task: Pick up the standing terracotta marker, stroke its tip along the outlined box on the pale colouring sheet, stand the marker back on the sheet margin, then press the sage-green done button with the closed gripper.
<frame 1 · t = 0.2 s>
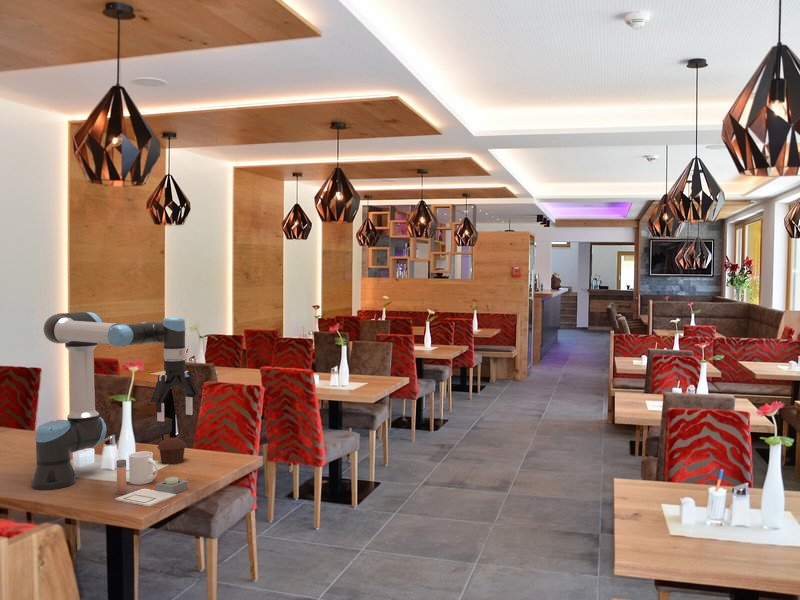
hand: (175, 417, 258), 27 cm above the table, fingers open, 13 cm apart
button: (171, 482, 260), point 3 cm above the table, slide at 0.0 cm
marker: (121, 493, 257), on the table
button housing: (171, 490, 260), on the table
mug: (144, 482, 271), on the table
muffin: (172, 462, 300), on the table
sheet: (146, 497, 252), on the table
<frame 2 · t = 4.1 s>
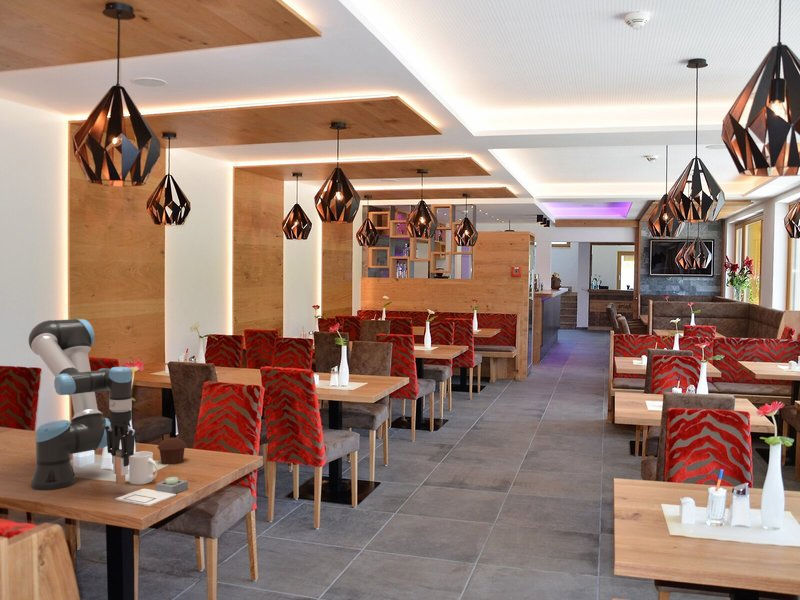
hand: (120, 473, 257), 7 cm above the table, fingers closed on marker, 3 cm apart
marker: (120, 482, 257), point 4 cm above the table, touching gripper
everything else where it was.
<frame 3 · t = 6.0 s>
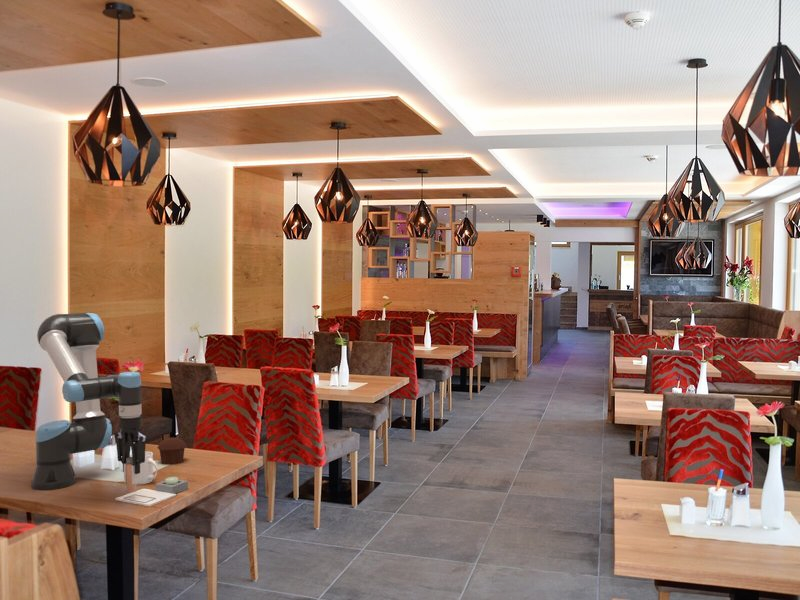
hand: (131, 481, 250), 6 cm above the table, fingers closed on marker, 3 cm apart
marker: (131, 491, 250), point 3 cm above the table, touching gripper
everything else where it was.
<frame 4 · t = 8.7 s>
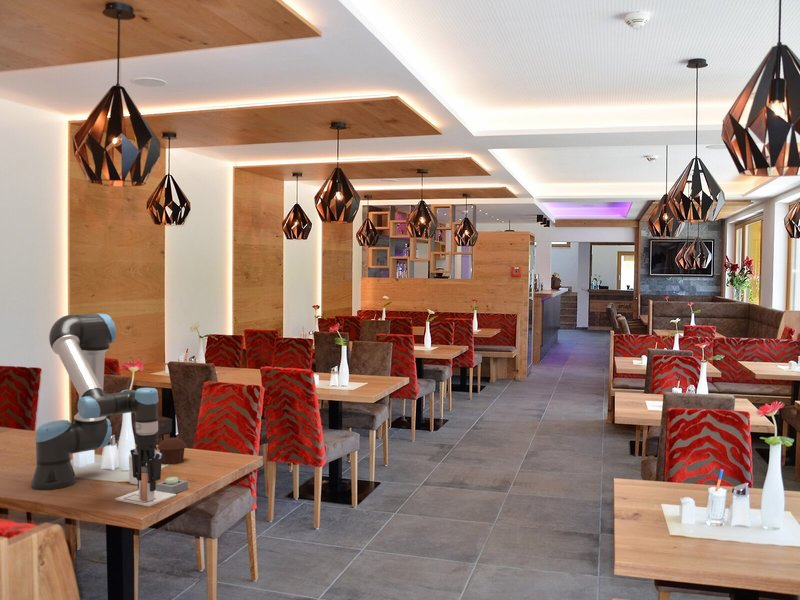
hand: (146, 498, 248), 1 cm above the table, fingers closed on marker, 3 cm apart
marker: (146, 499, 248), point 1 cm above the table, touching gripper, sheet
everything else where it was.
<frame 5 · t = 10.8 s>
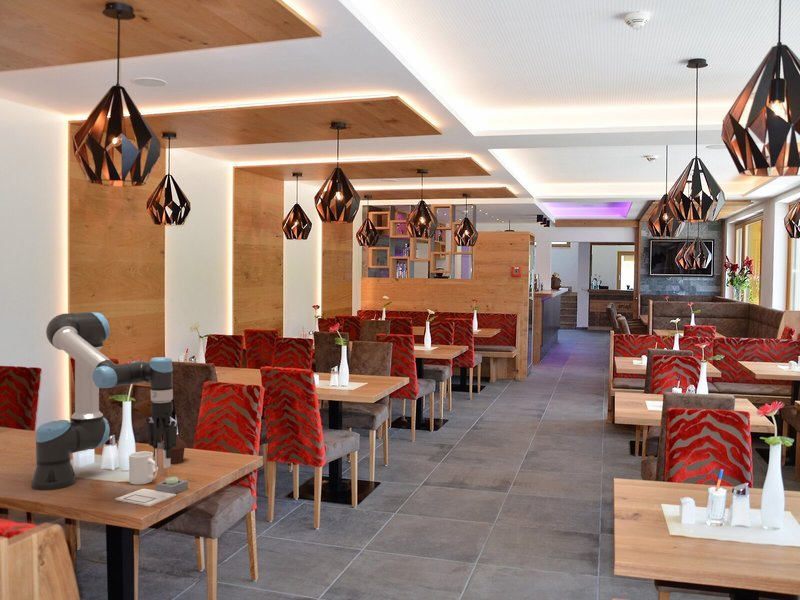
hand: (162, 466, 252), 11 cm above the table, fingers closed on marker, 3 cm apart
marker: (162, 475, 252), point 8 cm above the table, touching gripper
everything else where it was.
when the fingers open (3 cm above the table, at t = 12.4 s): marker stays where it is, resting on sheet.
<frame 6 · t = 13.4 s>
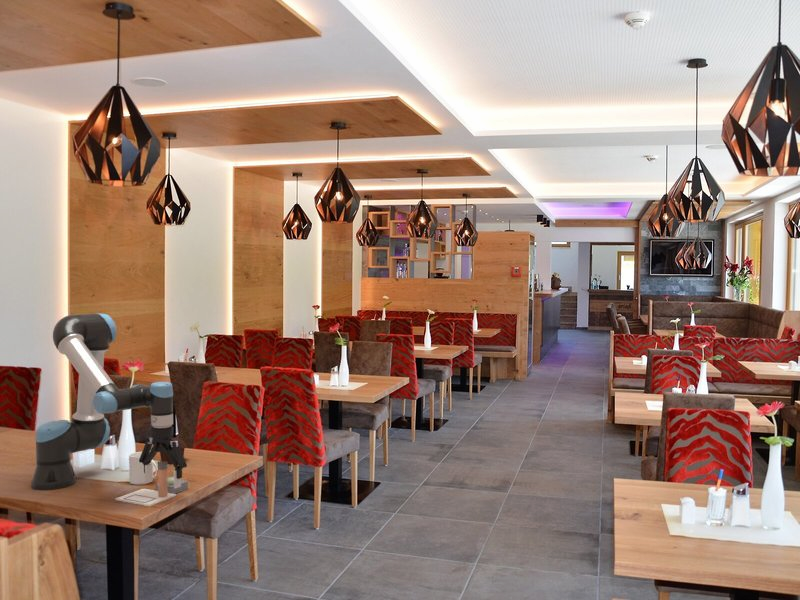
hand: (162, 485, 252), 4 cm above the table, fingers open, 13 cm apart
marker: (163, 496, 252), point 1 cm above the table, touching sheet
everything else where it was.
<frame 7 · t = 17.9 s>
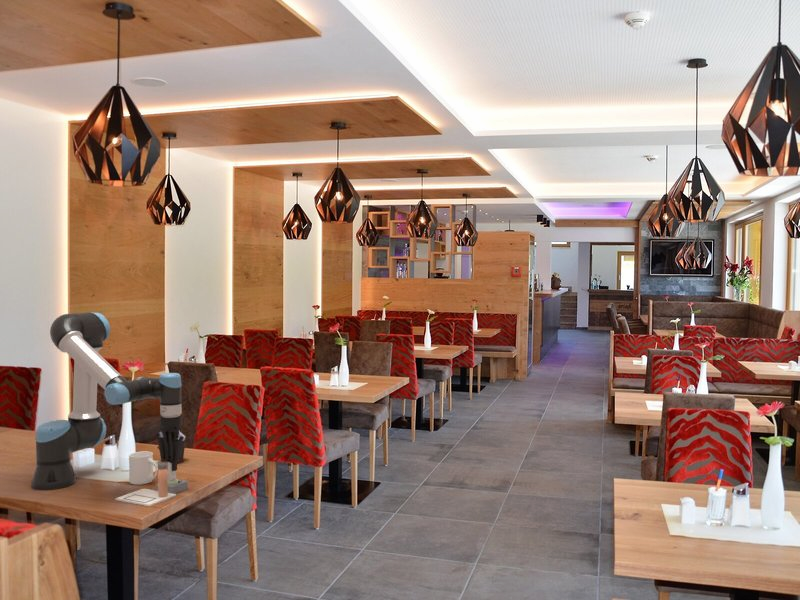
hand: (172, 479, 260), 4 cm above the table, fingers closed
button: (171, 483, 260), point 3 cm above the table, slide at 0.5 cm, touching gripper
everything else where it was.
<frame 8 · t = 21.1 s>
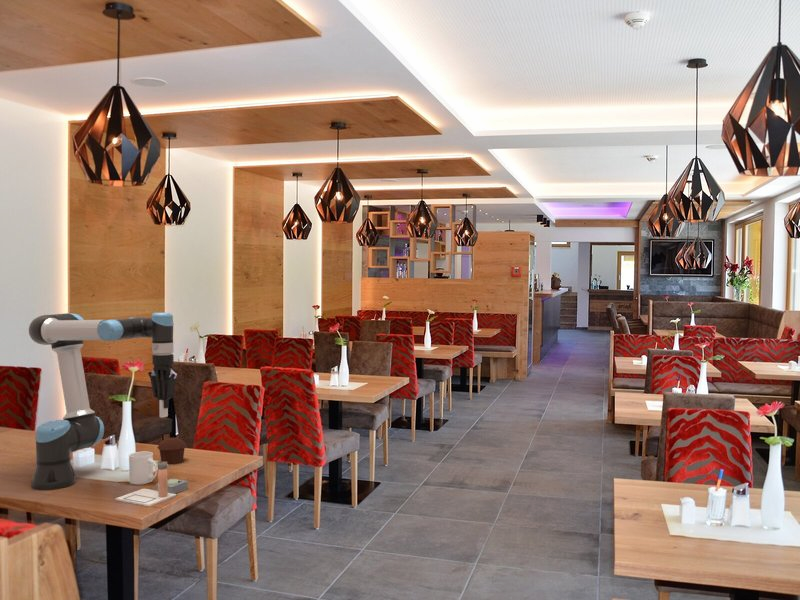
hand: (163, 416, 264), 26 cm above the table, fingers closed
button: (171, 484, 260), point 2 cm above the table, slide at 0.7 cm
everything else where it was.
at the end: button slide at 0.7 cm; the gripper is holding nothing; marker inside the target area on the sheet (5.9 cm from its centre), point 0.6 cm above the sheet's base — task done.
